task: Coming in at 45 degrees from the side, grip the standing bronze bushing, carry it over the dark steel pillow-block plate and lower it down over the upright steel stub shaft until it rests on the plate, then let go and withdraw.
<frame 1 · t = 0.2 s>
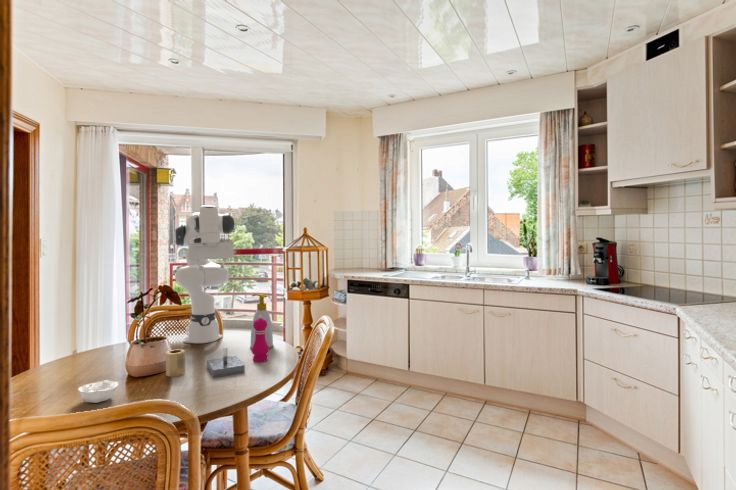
hand: (211, 269, 187), 39 cm above the table, tool pointing down, fingers open, 8 cm apart
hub: (175, 373, 160), on the table
soap bottle: (261, 347, 197), on the table
shaft block: (225, 369, 165), on the table
cell model: (98, 401, 135), on the table
pepper mill: (260, 360, 178), on the table
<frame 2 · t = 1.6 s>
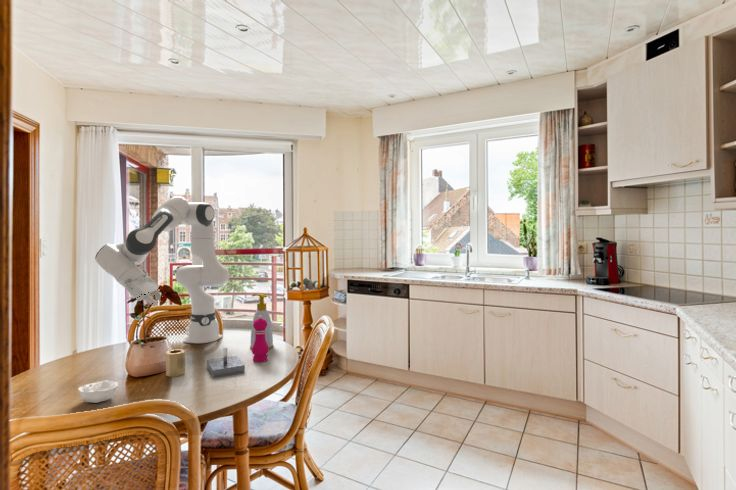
hand: (159, 302, 161), 28 cm above the table, tool tilted 45°, fingers open, 8 cm apart
nothing on the table moved.
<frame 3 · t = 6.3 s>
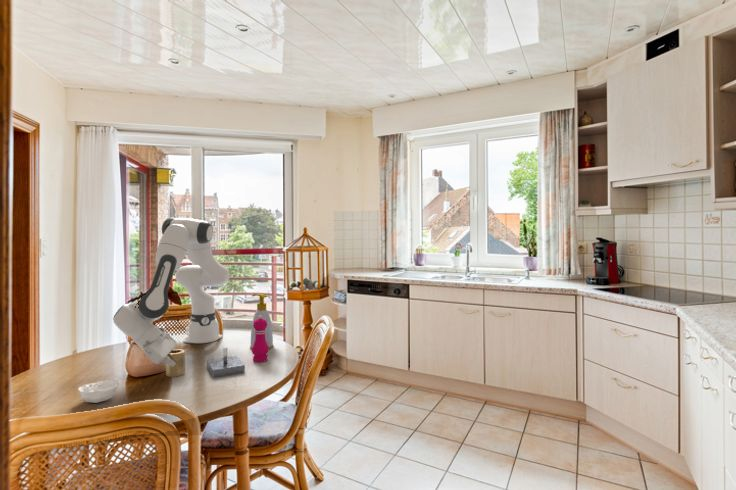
hand: (177, 361, 160), 5 cm above the table, tool tilted 45°, fingers closed on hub, 6 cm apart
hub: (175, 373, 160), on the table, touching gripper
everything else where it was.
when the fingers open (9 cm above the table, at t = 12.6 s): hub stays where it is, resting on shaft block.
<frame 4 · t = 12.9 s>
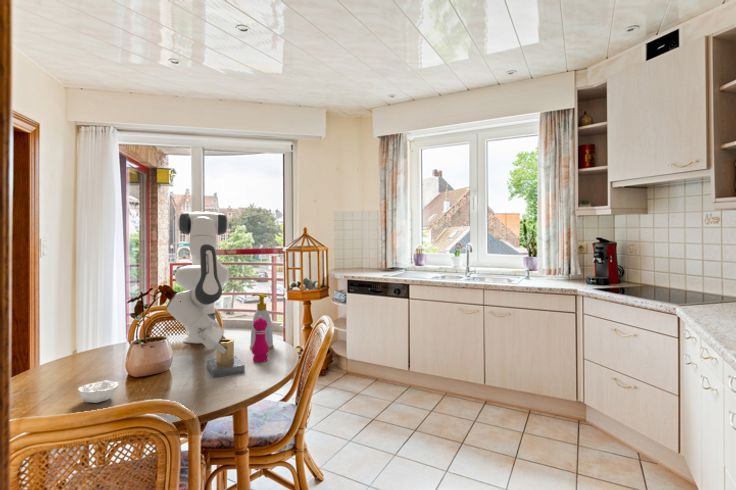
hand: (226, 348, 165), 9 cm above the table, tool tilted 45°, fingers open, 8 cm apart
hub: (225, 362, 165), point 3 cm above the table, touching shaft block
everything else where it was.
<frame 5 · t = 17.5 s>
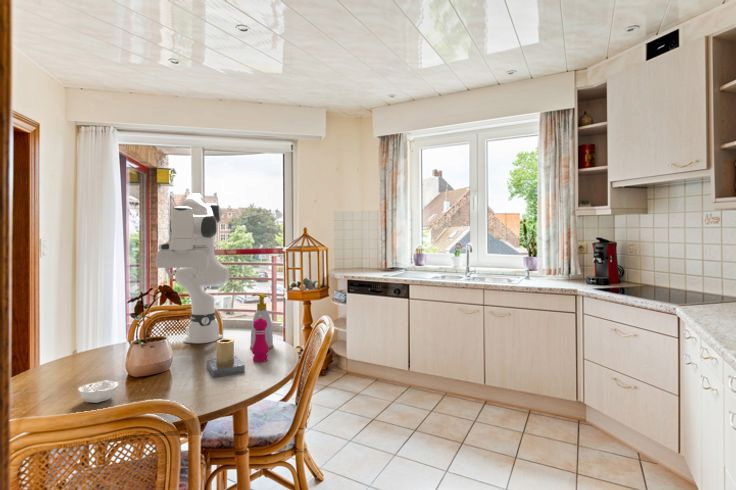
hand: (183, 278, 168), 37 cm above the table, tool pointing down, fingers open, 8 cm apart
nothing on the table moved.
at the end: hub 0.1 cm off-centre on the shaft block, point 3.0 cm above the shaft block's base; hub tilted 0°; the gripper is holding nothing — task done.
